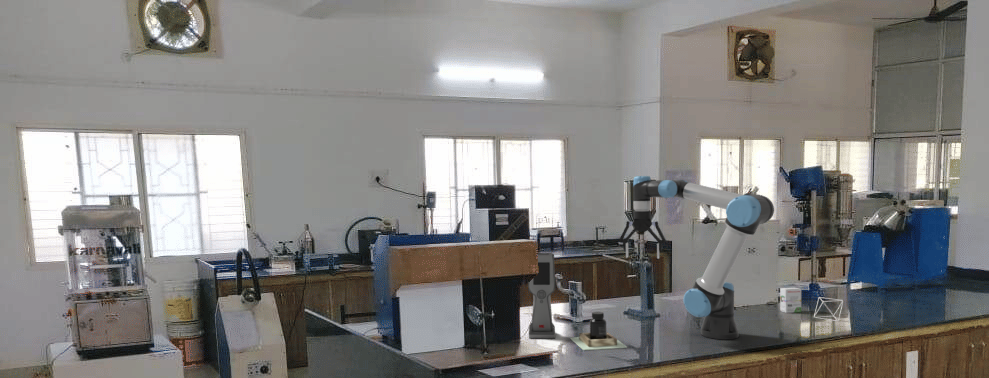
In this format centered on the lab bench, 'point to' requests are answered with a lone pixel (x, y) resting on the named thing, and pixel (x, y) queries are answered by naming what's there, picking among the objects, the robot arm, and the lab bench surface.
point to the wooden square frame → (597, 340)
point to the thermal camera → (542, 298)
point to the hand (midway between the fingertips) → (642, 257)
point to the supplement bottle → (598, 326)
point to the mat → (585, 347)
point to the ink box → (790, 300)
